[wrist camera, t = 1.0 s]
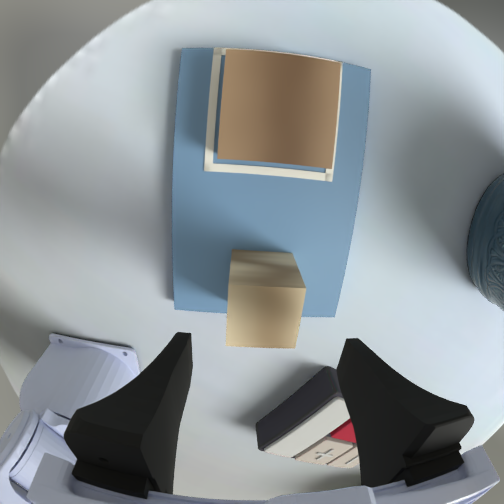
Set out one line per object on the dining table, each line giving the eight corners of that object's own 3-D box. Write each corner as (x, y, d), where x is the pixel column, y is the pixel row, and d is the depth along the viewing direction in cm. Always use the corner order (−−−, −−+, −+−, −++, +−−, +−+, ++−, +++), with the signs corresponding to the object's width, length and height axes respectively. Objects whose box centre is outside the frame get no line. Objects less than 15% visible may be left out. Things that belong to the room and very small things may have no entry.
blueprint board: (177, 302, 22) (174, 310, 21) (185, 52, 16) (181, 47, 15) (331, 310, 23) (334, 317, 22) (365, 72, 16) (371, 69, 15)
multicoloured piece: (350, 471, 29) (256, 456, 24) (342, 447, 33) (253, 423, 28) (419, 424, 26) (339, 398, 21) (406, 399, 30) (326, 363, 25)
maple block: (229, 301, 21) (225, 345, 17) (231, 249, 20) (228, 284, 15) (284, 304, 21) (295, 348, 17) (292, 252, 20) (306, 288, 15)
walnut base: (221, 155, 18) (217, 158, 15) (229, 62, 15) (226, 49, 13) (318, 164, 18) (331, 169, 15) (326, 73, 16) (340, 62, 13)
